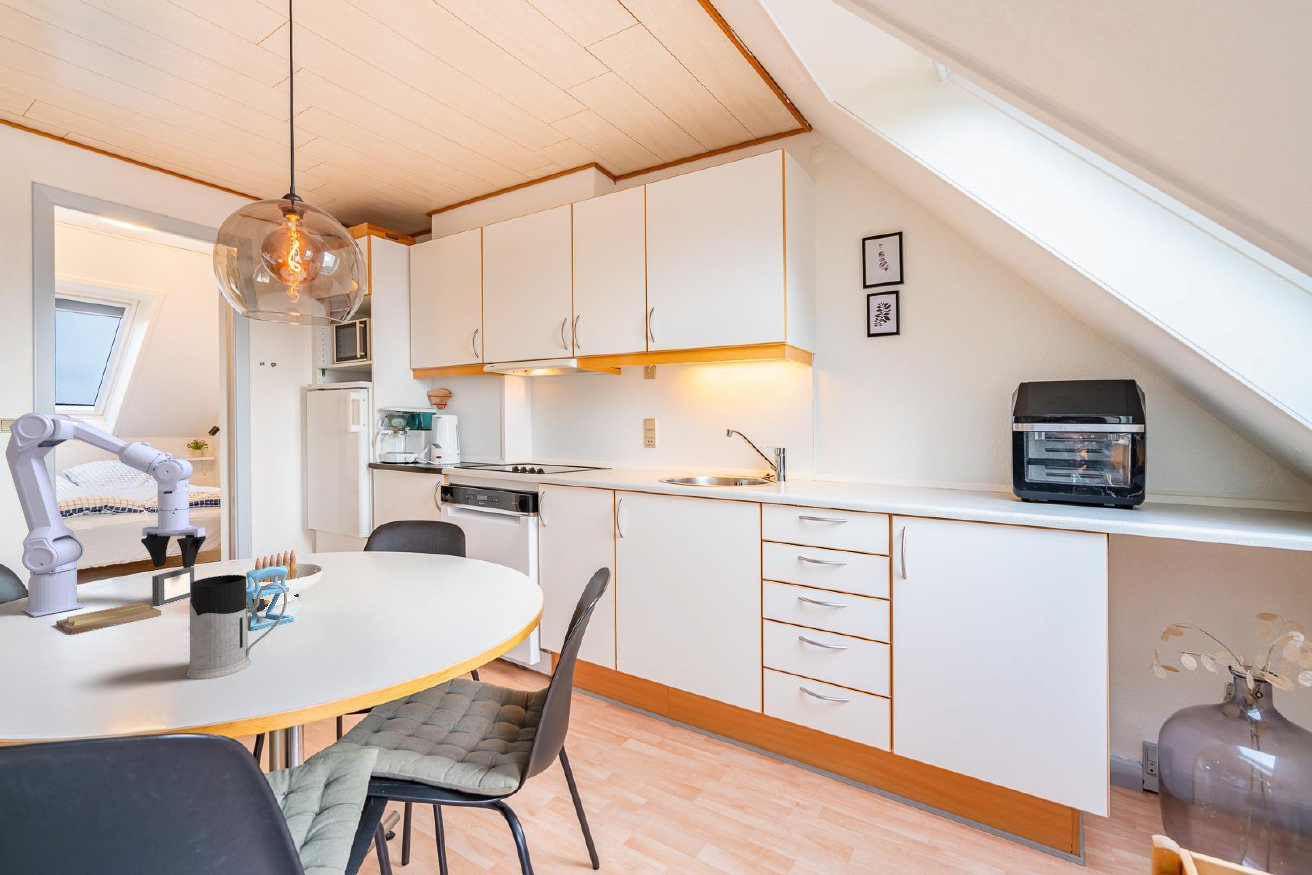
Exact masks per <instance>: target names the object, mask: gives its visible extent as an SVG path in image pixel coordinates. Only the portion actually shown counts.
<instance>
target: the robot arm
mask: <svg viewBox="0 0 1312 875" xmlns="http://www.w3.org/2000/svg"><path fill="white" fill-rule="evenodd" d="M9 430H10V433H11V435H10V437H9V441H8V444H7V446H6V450H5V458H6V461H7V463H8V465H7V466H8V467H9V471H10V474H11V477H12V478H11V479H12V481H13V483H14V487H15V490H16V494H17V496H18V501H19V503H20V506H21V507H20V508H21V510H22V513H23V517H24V520H25V523H26V526H27V529H28V533H27V535H26V536H25V538H24V539H23V540H22V541H23V542H22V546H23V554H22V558H21V563H22V565H23V566H24V568H26V570H29V575H30V576H29V578H28V582H27V586H28V587H27V593H28V594H27V599H28V600H27V603H28V604H27V605H28V606H24V607H21V611H23V612H25V613H27V614H28V615H30V616H32V617H34V618H35V617H40V616H46V615H51V614H55V613H56V614H57V613H61V612H67V611H71V610H77V609H82V608H84V607H85V605H84V604H82V603H80V602H78V570H77V569H78V565H77V561H79V560H80V559H81V557H83V554H84V546H83V543H82V542H81V541H80V540H79V539H78V538H77V537H76V535H75V533H74V531H73V530H72V529H71V528H70V527H69V526H67V525H65V523H64V521H63V518H62V517H63V516H62V514H61V510H60V507H59V505H58V502H57V498H56V494H55V491H54V488H53V484H52V482H51V477H50V476H49V472H48V469H47V465H46V461H45V457H46V456H47V455H48V454H49V453H50V452H51V451H52V450H53V449H54V448H55V447H56V446H59V445H61V444H62V443H64V442H66V441H69V440H76V441H77V440H78V441H81V442H82V443H86V444H89V445H91V446H93V447H96V448H99V449H102V450H103V451H106V452H110V453H112V454H114V455H117V456H118V459H119V462H121V464H124V465H126V466H128V467H131V468H133V469H135V470H138V471H140V472H142V473H145V474H147V475H148V476H152V478H153V479H154V481H155V482H157V526H146V527H142V536H143V537H145V538H141V539H140V543H142V545H143V546H144V547H145V548H146V550H147V552H148V554H149V557H150V558H151V561H152V564H153V567H154V568H158V567H163V566H165V565H166V563H167V549H168V546H169V545H168V544H169V543H170V542H169V541H170V539H171V537H181V538H177V539H176V542H177V544H178V546H179V548H180V553H181V563H182V569H183V568H188V567H194V566H195V562H196V559H197V556H198V553H199V550H200V548H202V545H203V543H204V542H205V541H206V540H207V536H206V527H199V526H193V525H192V524H190V488H189V487H190V486H189V484H190V483H189V482H190V481H189V480H190V478H191V477H192V475H193V472H194V467H193V465H192V463H191V461H189V460H187V459H185V458H184V457H180V456H179V457H173V453H171V452H163V451H161V450H159V449H156V448H154V447H152V444H151V443H150V442H148V441H142V442H141V441H132V442H127V441H125V440H123V439H121V438H118V437H116V436H115V435H112V434H111V433H108V432H107V431H104V430H102V429H100V428H98V427H95V426H93V425H92V424H90V423H88V422H85V421H84V420H82V419H80V418H75V417H72V416H70V415H68V414H65V413H40V412H28V413H24V414H23V415H20V417H18V418H17V419H16V420H15V421H14V422H13V423H11V425H9Z"/></svg>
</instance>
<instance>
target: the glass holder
mask: <svg viewBox="0 0 1312 875" xmlns="http://www.w3.org/2000/svg"><path fill="white" fill-rule="evenodd" d="M267 586H278V587H280V588H281V589H282V590H283V592H284V604H283V606H282V610H281V612H280V613H279V614H280V616H279V618H278V619H276V620H277V621H276V623H275V624H274V625H273V626H271V627H269V629H268V630H267V631H265V633H263V634H262V635H260V636H259V637H258V638H257V639H256V640H254V642H252V643H251V644H250V645H249V644H248V643H249V638H248V636H249V629H248V626H249V623H248V621H249V620H248V619H249V617H248V615H249V614H248V613H249V612H251V610H254V609H256V608H257V607H258V605H259V600H260V594H261V592H262V590H263V589H264V588H266V587H267ZM246 589H247V576H246V575H242V574H224V575H215V576H210V577H204V578H200V579H197V580H194V582H192V583H191V596H190V597H189V668H188V670H187V672H186V677H187V678H188V679H191V680H211V679H217V678H222V677H226V676H231V675H234V674H236V673H239V672H240V671H243V670H245V669H247V668H248V667H249V666H251V665H252V660H251V659H250V657H249V655H250V652H251V649H252V648H253V646H255V645H256V644H257V643H258V642H260V641H261V640H262V639H263V638H265V637H266V636H267V635H269V633H270V632H272V631H273V630H274V629H275V628H276V627H277V626H278V625H277V624H278V623H279V621H280V620H281V618H282V616H283V615H285V611H286V607H287V604H288V603H287V593H286V590H285V588H284V587H283V586H282V585H280V584H276V583H270V584H267V585H265V586H263V587H262V588H261V589H260V590H259V592H258V594H257V598H256V606H255V607H253V608H249V605H247V598H246Z"/></svg>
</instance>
